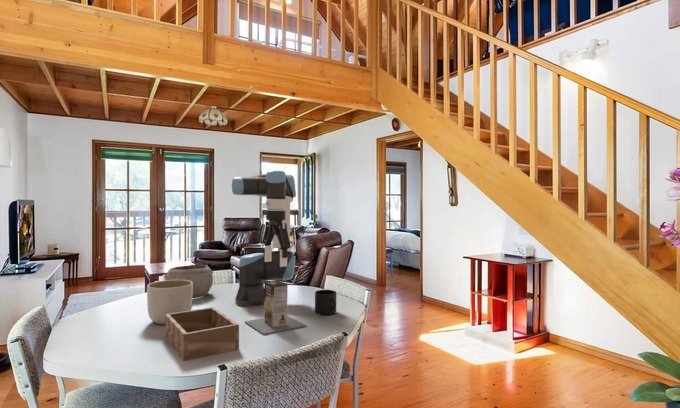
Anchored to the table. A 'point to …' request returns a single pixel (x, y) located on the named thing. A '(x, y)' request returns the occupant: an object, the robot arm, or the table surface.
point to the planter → (168, 298)
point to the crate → (201, 332)
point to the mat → (267, 329)
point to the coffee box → (275, 303)
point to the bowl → (193, 277)
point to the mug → (325, 302)
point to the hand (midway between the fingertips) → (275, 263)
